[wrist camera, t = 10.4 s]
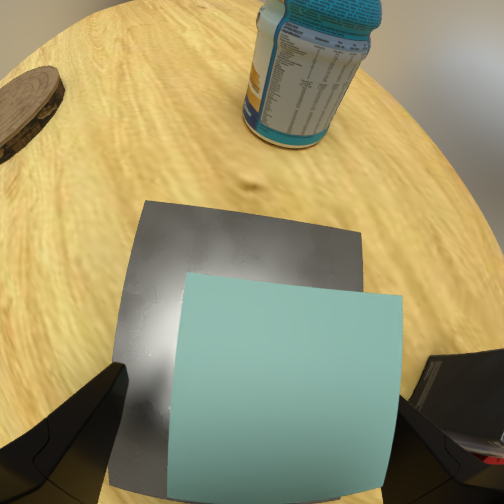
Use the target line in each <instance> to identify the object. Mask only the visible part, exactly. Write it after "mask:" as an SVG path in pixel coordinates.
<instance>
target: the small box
mask: <svg viewBox="0 0 504 504" xmlns="http://www.w3.org/2000/svg"><path fill="white" fill-rule="evenodd" d="M409 403H410V404H411V405H412V406H414V407H415V408H416V409H417V410H418V411H419V412H420V413H422V414H423V415H424V416H425V417H426V418H427V419H429V420H430V421H431V422H432V423H433V424H434V425H435V426H437V427H438V428H439V429H440V430H441V431H442V432H444V434H446V435H447V436H448V437H449V438H451V439H452V440H453V441H454V442H456V443H457V444H458V445H459V446H461V447H462V448H464V449H465V450H466V451H468V452H471V453H476V454H481V455H486V456H492V457H498V458H504V348H503V349H495V350H488V351H481V352H476V353H465V354H451V355H432V356H430V358H429V360H428V363H427V366H426V368H425V370H424V373H423V375H422V377H421V380H420V382H419V384H418V386H417V388H416V390H415V392H414V394H413V396H412V398H411V399H410V401H409Z"/></svg>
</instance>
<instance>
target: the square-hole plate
mask: <svg viewBox="0 0 504 504" xmlns="http://www.w3.org/2000/svg"><path fill="white" fill-rule="evenodd" d="M187 272H191V273H198V274H206V275H213V276H221V277H228V278H236V279H244V280H252V281H260V282H269V283H277V284H286V285H295V286H304V287H313V288H323V289H333V290H343V291H353V292H363V259H362V240H361V233H360V232H355V231H349V230H344V229H338V228H333V227H327V226H322V225H316V224H310V223H304V222H298V221H292V220H286V219H280V218H274V217H268V216H261V215H254V214H248V213H241V212H234V211H227V210H220V209H213V208H205V207H197V206H190V205H182V204H173V203H165V202H156V201H147V200H145V203H144V207H143V210H142V213H141V217H140V220H139V224H138V228H137V231H136V235H135V239H134V243H133V247H132V251H131V255H130V259H129V264H128V268H127V273H126V278H125V282H124V287H123V292H122V298H121V303H120V309H119V315H118V321H117V327H116V334H115V341H114V349H113V357H112V363H113V362H120V363H124V364H125V365H126V368H127V372H128V377H129V385H128V390H127V394H126V399H125V404H124V409H123V414H122V419H121V423H120V426H119V429H118V432H117V436H116V439H115V442H114V445H113V448H112V452H111V455H110V459H109V462H108V471H109V485H111V486H114V487H117V488H120V489H124V490H127V491H131V492H135V493H139V494H143V495H147V496H151V497H156V498H161V499H166V500H171V501H177V502H184V503H191V504H214V503H203V502H194V501H187V500H180V499H174V498H168V497H167V469H168V442H169V424H170V409H171V397H172V385H173V375H174V365H175V355H176V347H177V338H178V330H179V323H180V315H181V308H182V301H183V294H184V288H185V281H186V275H187ZM340 498H341V497H335V498H329V499H323V500H316V501H309V502H300V503H289V504H314V503H321V502H328V501H334V500H339V499H340Z"/></svg>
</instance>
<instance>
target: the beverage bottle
mask: <svg viewBox="0 0 504 504" xmlns="http://www.w3.org/2000/svg"><path fill="white" fill-rule="evenodd" d="M381 20H382V4H381V0H267V2H266V3H265V4H264V5H263V6H262V7H261V8H260V10H259V12H258V15H257V20H256V26H257V29H258V32H257V38H256V44H255V49H254V55H253V61H252V67H251V72H250V78H249V84H248V89H247V93H246V97H245V100H244V105H243V117H244V120H245V122H246V124H247V125H248V127H249V128H250V129H251V130H252V131H253V132H254V133H255V134H256V135H257V136H259V137H260V138H262V139H264V140H265V141H267V142H270V143H272V144H275V145H278V146H282V147H287V148H304V147H309V146H312V145H314V144H316V143H318V142H319V141H320V140H321V139H322V138H323V137H324V136H325V134H326V132H327V130H328V128H329V125H330V122H331V120H332V118H333V116H334V114H335V112H336V110H337V108H338V106H339V105H340V103H341V101H342V99H343V97H344V95H345V93H346V91H347V89H348V87H349V85H350V83H351V81H352V79H353V77H354V75H355V73H356V71H357V69H358V67H359V65H360V63H361V61H362V60H364V59H365V58H366V56H367V55H368V52H369V50H370V47H371V38H370V33H371V31H372V30H374V29H376V28H378V27H379V26H380V24H381Z"/></svg>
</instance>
